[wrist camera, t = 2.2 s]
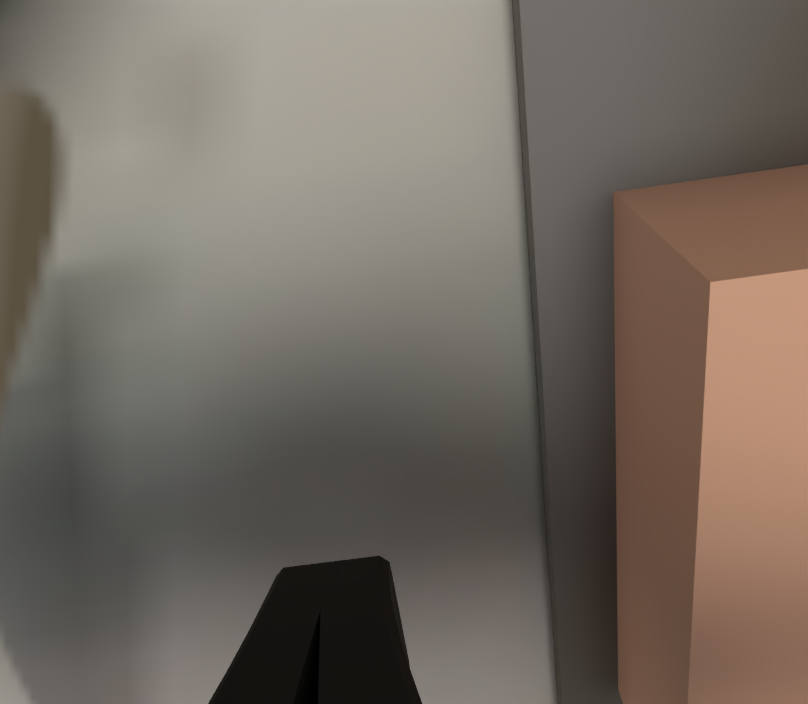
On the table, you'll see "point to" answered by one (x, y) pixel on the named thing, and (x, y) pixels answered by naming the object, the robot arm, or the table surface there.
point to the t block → (712, 439)
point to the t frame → (594, 233)
